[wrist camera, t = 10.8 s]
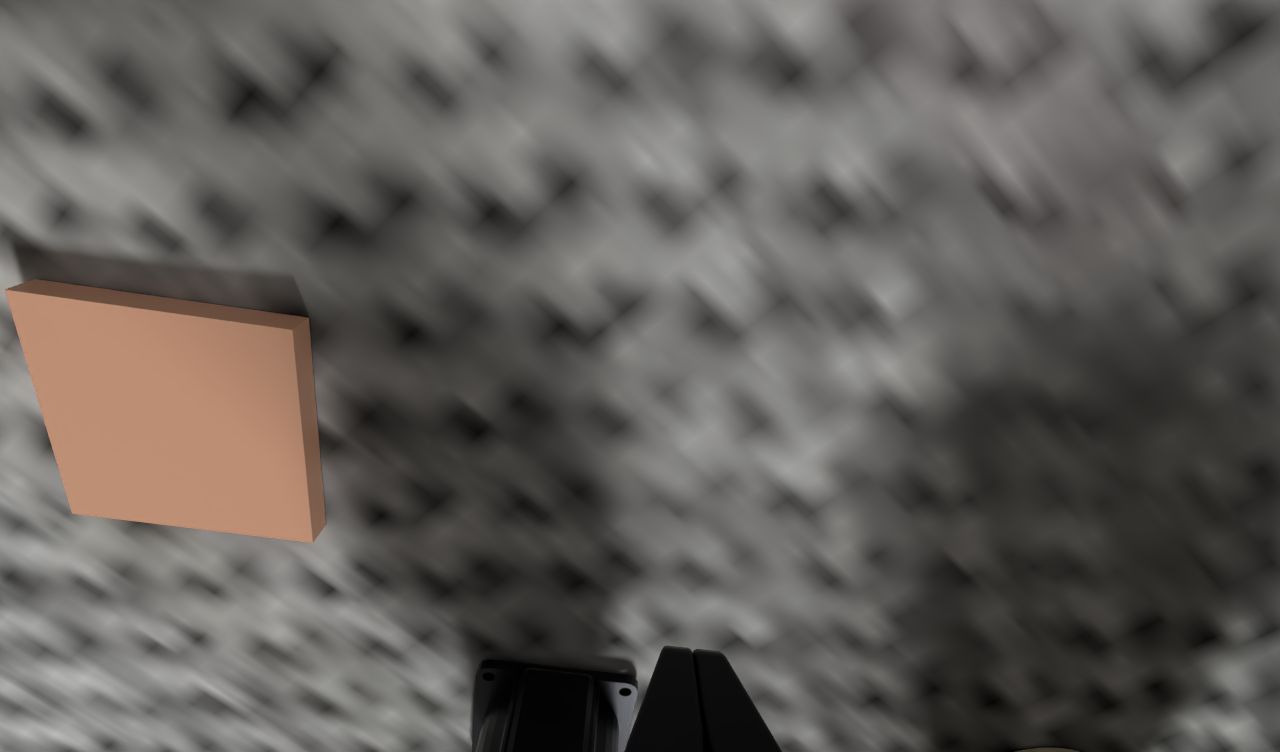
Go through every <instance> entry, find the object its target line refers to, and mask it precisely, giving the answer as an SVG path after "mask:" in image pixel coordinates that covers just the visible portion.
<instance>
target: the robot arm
mask: <svg viewBox="0 0 1280 752" xmlns="http://www.w3.org/2000/svg"><path fill="white" fill-rule="evenodd" d="M637 694H638V682H637V680H636V679H635V678H634V677H632V676H629V675H622V674H614V673H605V672H596V671H587V670H578V669H570V668H561V667H552V666H543V665H534V664H526V663H517V662H508V661H499V660H484V661H482V662H481V663H480V664H479V667H478V671H477V674H476V688H475V707H474V725H473V744H472V752H782V751H781V749H780V747H779V746H778V744H777V742H776V741H775V739H774V737H773V736H772V734H771V732H770V731H769V729H768V727H767V726H766V724H765V722H764V720H763V719H762V717H761V715H760V714H759V712H758V710H757V709H756V707H755V705H754V704H753V702H752V700H751V699H750V697H749V695H748V694H747V692H746V690H745V689H744V687H743V685H742V683H741V682H740V680H739V678H738V677H737V675H736V673H735V672H734V670H733V668H732V667H731V665H730V663H729V662H728V660H727V658H726V657H725V655H724V654H723V653H721V652H719V651H711V650H702V649H696V650H694V651H693V653H692V651H691V650H690V649H689V648H684V647H675V646H665V647H663V649H662V651H661V653H660V656H659V659H658V661H657V664H656V667H655V669H654V672H653V675H652V678H651V680H650V683H649V686H648V688H647V691H646V694H645V696H644V699H643V702H642V705H641V707H640V710H639V713H638V715H637V718H636V721H635V724H634V726H633V729H632V732H631V734H630V737H629V740H628V742H627V739H628V735H629V730H630V726H631V721H632V716H633V712H634V707H635V703H636V698H637ZM626 744H627V745H626Z"/></svg>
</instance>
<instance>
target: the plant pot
mask: <svg viewBox="0 0 1280 752" xmlns="http://www.w3.org/2000/svg"><path fill="white" fill-rule="evenodd" d="M1015 752H1079V751H1075V750H1072V749H1064V748H1034V749H1025V750H1020V751H1015Z"/></svg>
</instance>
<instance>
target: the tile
mask: <svg viewBox="0 0 1280 752" xmlns="http://www.w3.org/2000/svg"><path fill="white" fill-rule="evenodd" d="M5 292H6V296H7V299H8V302H9V305H10V309H11V312H12V315H13V319H14V322H15V325H16V329H17V332H18V335H19V339H20V342H21V345H22V349H23V352H24V355H25V359H26V362H27V365H28V369H29V372H30V375H31V378H32V382H33V385H34V388H35V392H36V395H37V398H38V402H39V405H40V408H41V412H42V415H43V418H44V422H45V425H46V428H47V432H48V435H49V438H50V441H51V445H52V448H53V451H54V455H55V458H56V461H57V465H58V468H59V471H60V475H61V478H62V481H63V485H64V488H65V491H66V495H67V498H68V501H69V504H70V508H71V511H72V514H80V515H88V516H96V517H105V518H113V519H121V520H129V521H137V522H146V523H154V524H162V525H170V526H178V527H187V528H195V529H203V530H211V531H219V532H228V533H236V534H244V535H252V536H260V537H269V538H277V539H285V540H293V541H301V542H310V543H313V542H314V541H315V539H316V538H317V536H318V535H319V534H320V532H321V531H322V529H323V528H324V526H325V525H326V518H325V506H324V494H323V482H322V470H321V458H320V446H319V434H318V422H317V410H316V398H315V386H314V374H313V362H312V350H311V338H310V326H309V318H308V317H301V316H294V315H287V314H280V313H273V312H265V311H258V310H251V309H244V308H237V307H230V306H223V305H216V304H209V303H202V302H195V301H188V300H180V299H173V298H166V297H159V296H152V295H145V294H138V293H131V292H124V291H117V290H110V289H103V288H95V287H88V286H81V285H74V284H67V283H60V282H53V281H46V280H39V279H34V280H31V281H28V282H25V283H22V284H19V285H17V286H14V287H11V288H8V289H5Z"/></svg>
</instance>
